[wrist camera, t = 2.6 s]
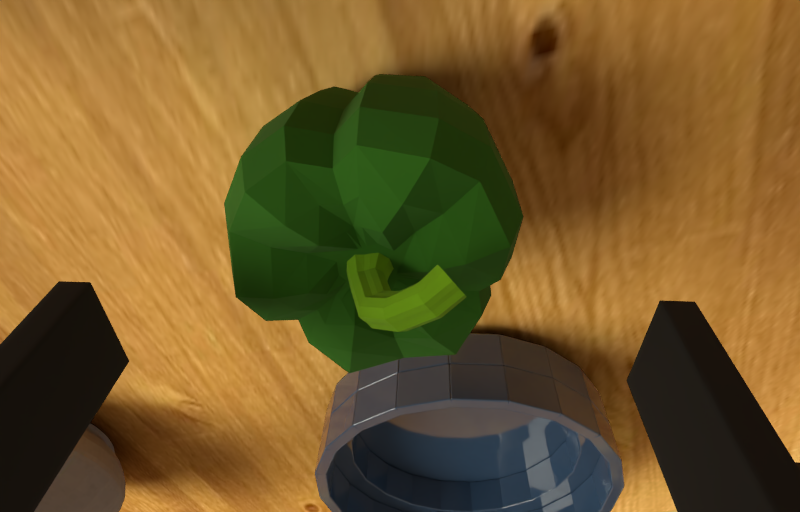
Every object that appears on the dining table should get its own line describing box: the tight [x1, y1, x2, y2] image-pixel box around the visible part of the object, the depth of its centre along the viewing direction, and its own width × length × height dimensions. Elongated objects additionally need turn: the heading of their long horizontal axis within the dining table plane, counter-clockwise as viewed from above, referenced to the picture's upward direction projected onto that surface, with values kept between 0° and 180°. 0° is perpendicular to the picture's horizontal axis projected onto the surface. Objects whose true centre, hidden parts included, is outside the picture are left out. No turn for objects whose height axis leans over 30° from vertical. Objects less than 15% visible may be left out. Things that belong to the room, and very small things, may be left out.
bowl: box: [315, 333, 624, 512], centre depth 28 cm, size 16×16×4 cm
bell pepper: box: [224, 74, 523, 373], centre depth 15 cm, size 8×8×10 cm
